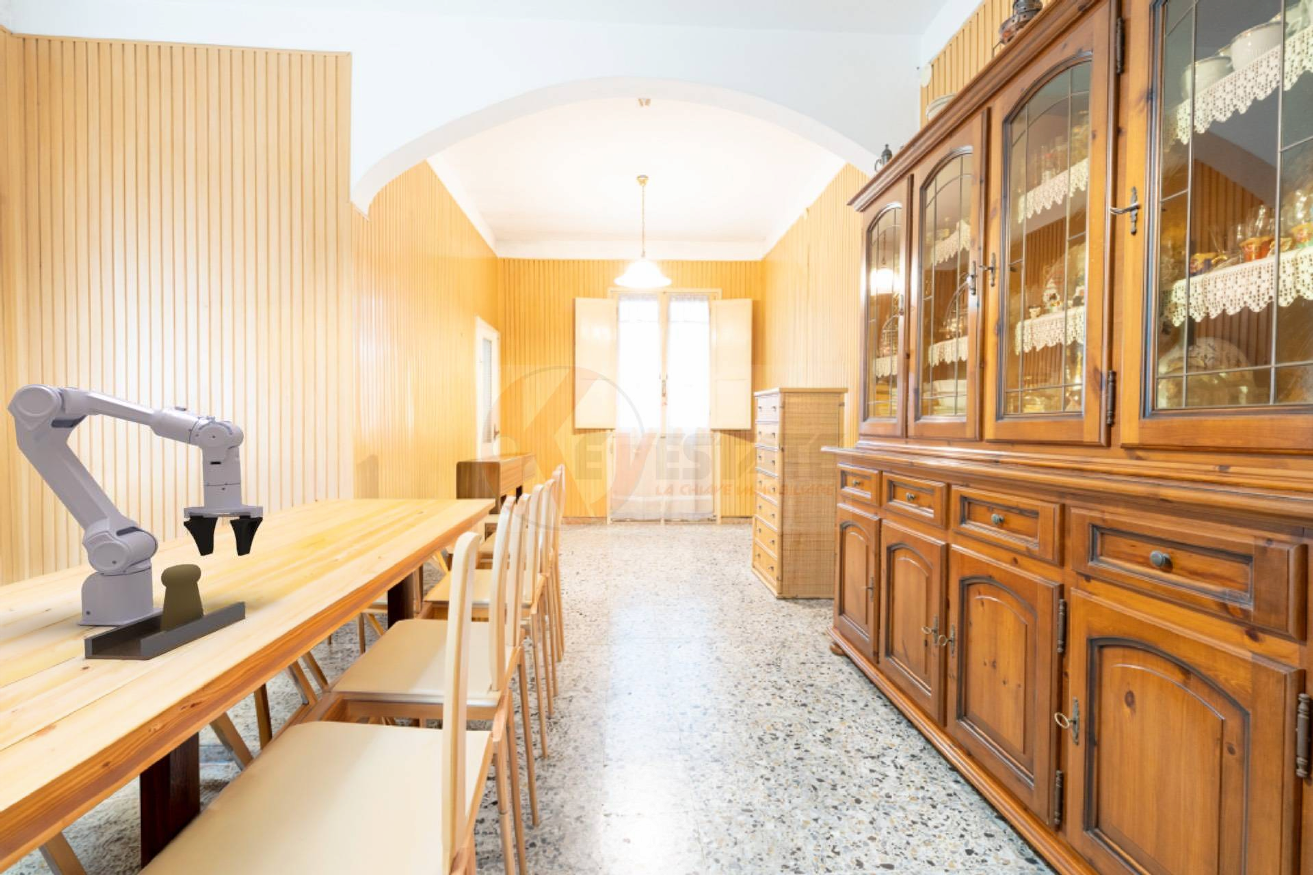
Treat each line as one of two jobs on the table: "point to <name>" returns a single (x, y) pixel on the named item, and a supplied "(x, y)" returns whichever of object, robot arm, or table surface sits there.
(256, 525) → the robot arm
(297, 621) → the table surface
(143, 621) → the rail
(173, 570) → the olive knobbed tapered piece
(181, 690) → the table surface
